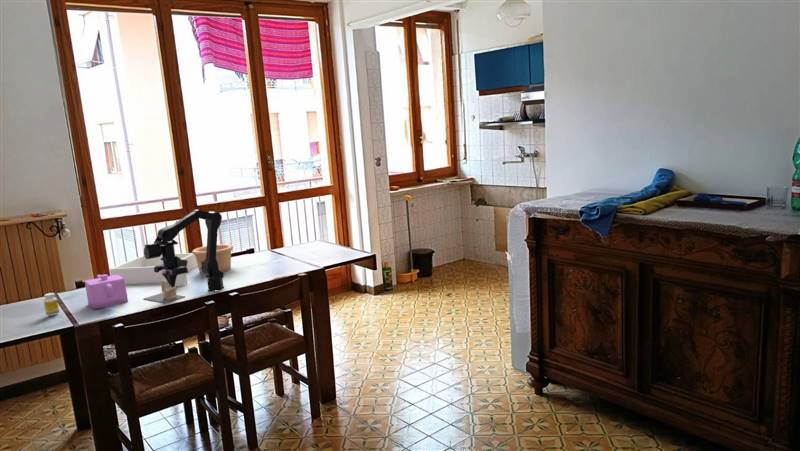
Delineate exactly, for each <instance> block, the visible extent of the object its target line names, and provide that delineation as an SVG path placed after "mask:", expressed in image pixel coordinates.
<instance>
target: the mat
mask: <svg viewBox="0 0 800 451" xmlns="http://www.w3.org/2000/svg"><path fill="white" fill-rule="evenodd" d="M176 295H177V298H175V299H171V300H164V299H163V295H162V292H160V293H159V294H155V295H151V296H147V297H144V298H143V300H144V301H150V302H156V303H160V304H167V303H171V302H174V301H177V300H180V299H184V298H186V296H185V295H179V294H176Z"/></svg>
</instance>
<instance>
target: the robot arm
mask: <svg viewBox="0 0 800 451" xmlns="http://www.w3.org/2000/svg"><path fill="white" fill-rule="evenodd" d="M199 219H202V220H204V223H205V226H206V229H207V234H206V246H207V251H206V259H205V261H202V262H201V264H202V266H201V269H202V273H203V274H205V275H204V276H205V277H206V278H207V288H208V289H207V292H216V291H215V290H221V289H222V290H223V289H225V288H224V287H225V286H224V281H223V280H224V276H225V272H224V273H223V272H221V271H220V270H219V267H218V262H217V260H216V250H217V245H218V230H219V228H220V226H221V225H222V224H221V223H222V220H223V217H222V214H221V213H220V212H218V211H204V210H202V209H193V210H192V211H191V212H190V213H189V214H186V215H185V216H184V217H182V218H181V219H179V220H178V221H176V222H175V223H173V224H170V225H167V226H165V227H162V228H160V229H159V230H158V231H157V236H156V237H155V240H154V242H153V243H150V244H149V243H148V244H144V248H143V256H145V258H146V259H152V258H157V257H160V256H161V255H162V258H161V260H163V264H162V265H158V266H155V267H154V272H157V273H158V272H159V271H161V270H163V273H162V275H163V276H164V277H165V279H166V280H167V281H168V283H169V284H170V286H171V287H174V286H175V282H176V277H177V275H180V274H183V273H186V274H187V273H189V271H188V269H187V268H186V267H187V262H188V260H181V259H180V257H177V256H175V254H176V251H175V245H179V242H178V241H176V240H175V238H176V237H177V236H178V234H179V233H180V232H181V231H182V230H184V229H185V228H187V227H188V226H190V225H191V224H193V223H195V222H196V221H197V220H199ZM183 266H185V267H183ZM222 290H221V291H222Z"/></svg>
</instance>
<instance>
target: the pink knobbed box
mask: <svg viewBox="0 0 800 451" xmlns="http://www.w3.org/2000/svg"><path fill="white" fill-rule="evenodd" d="M84 286H85V291H86V298H87V304H88V305H89V307H91V309H92V310H97V309H103V308H106V307H110V306H115V305H119V304H122V303H124V304H125V303H128V302H129V300H128V293H127V284H125V279H124V278H123V277H121V276H120V275H113V276H111V275H108V274H97V277H96V278H92V279H88V280H84Z"/></svg>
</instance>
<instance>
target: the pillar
mask: <svg viewBox="0 0 800 451" xmlns="http://www.w3.org/2000/svg"><path fill="white" fill-rule="evenodd" d="M160 288H161V293H162V295H163V299H164V300H171V299H175V298H177V295H178V294H177V289H176V288H177V287H175V286H174V287H171V286H170V284H169V283H168V281H167V280H163V281H161V282H160Z"/></svg>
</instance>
